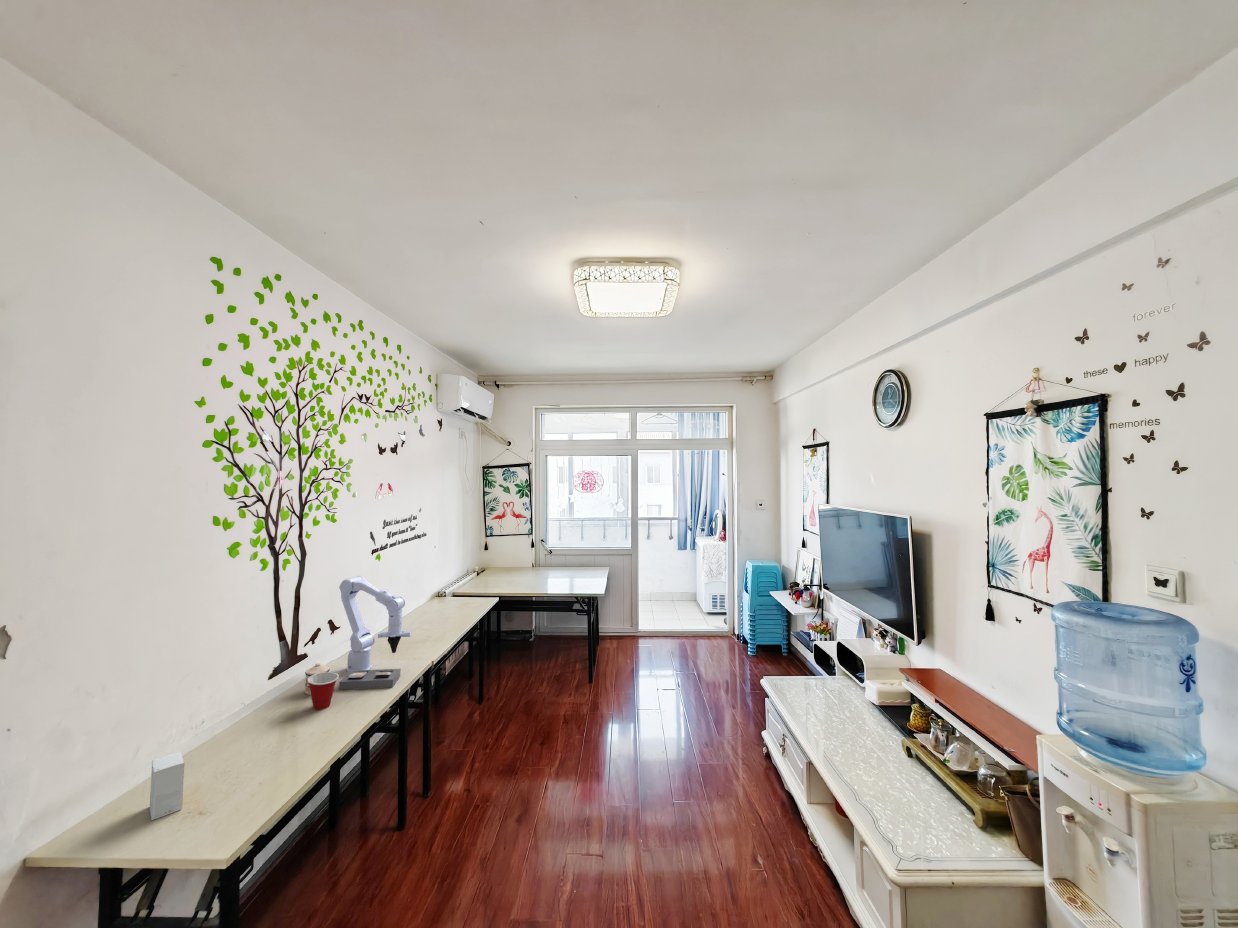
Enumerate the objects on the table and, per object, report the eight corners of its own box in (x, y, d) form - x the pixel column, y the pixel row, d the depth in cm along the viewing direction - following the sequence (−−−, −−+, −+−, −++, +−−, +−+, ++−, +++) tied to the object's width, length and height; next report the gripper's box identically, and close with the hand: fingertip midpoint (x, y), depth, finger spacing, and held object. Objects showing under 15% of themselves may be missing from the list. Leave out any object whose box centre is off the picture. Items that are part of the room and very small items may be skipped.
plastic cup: (324, 714, 187) (325, 683, 187) (299, 711, 188) (300, 681, 188) (344, 701, 197) (345, 672, 198) (320, 699, 199) (321, 670, 199)
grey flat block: (338, 689, 208) (339, 681, 208) (349, 678, 219) (349, 670, 220) (392, 687, 211) (392, 679, 211) (400, 675, 223) (400, 668, 223)
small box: (182, 809, 133) (184, 762, 134) (150, 821, 129) (153, 772, 129) (179, 795, 139) (181, 750, 139) (149, 806, 134) (151, 759, 135)
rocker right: (375, 674, 212) (375, 672, 213) (380, 675, 219) (380, 672, 220) (387, 674, 213) (387, 671, 214) (392, 674, 220) (392, 672, 221)
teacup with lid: (299, 695, 202) (300, 667, 202) (312, 685, 211) (313, 659, 211) (327, 695, 202) (328, 668, 202) (340, 686, 211) (341, 659, 211)
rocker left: (348, 677, 210) (348, 674, 211) (355, 674, 218) (355, 672, 218) (360, 677, 211) (361, 674, 211) (366, 674, 219) (367, 671, 219)
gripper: (376, 626, 223) (374, 655, 222) (408, 625, 225) (407, 654, 225) (380, 621, 230) (379, 650, 229) (412, 621, 232) (411, 649, 232)
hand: (394, 652), depth 228 cm, fingers closed
